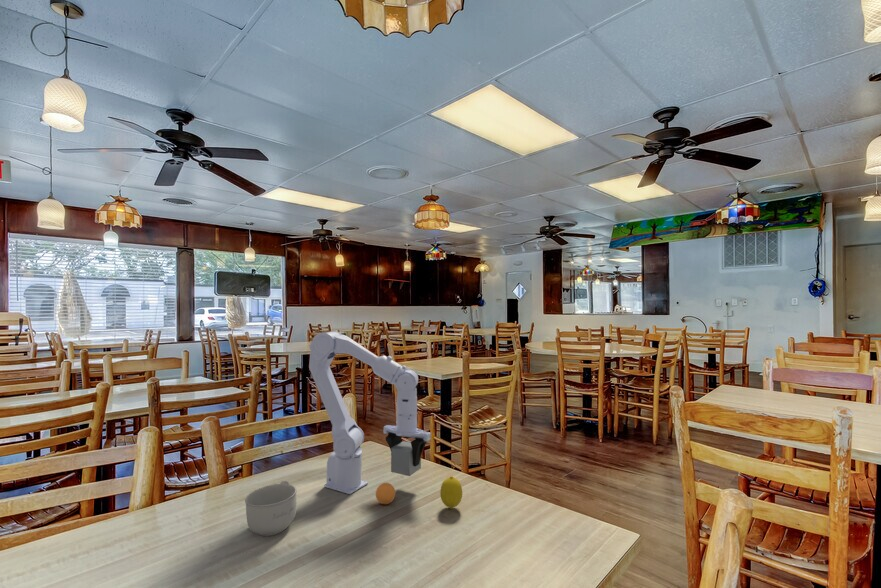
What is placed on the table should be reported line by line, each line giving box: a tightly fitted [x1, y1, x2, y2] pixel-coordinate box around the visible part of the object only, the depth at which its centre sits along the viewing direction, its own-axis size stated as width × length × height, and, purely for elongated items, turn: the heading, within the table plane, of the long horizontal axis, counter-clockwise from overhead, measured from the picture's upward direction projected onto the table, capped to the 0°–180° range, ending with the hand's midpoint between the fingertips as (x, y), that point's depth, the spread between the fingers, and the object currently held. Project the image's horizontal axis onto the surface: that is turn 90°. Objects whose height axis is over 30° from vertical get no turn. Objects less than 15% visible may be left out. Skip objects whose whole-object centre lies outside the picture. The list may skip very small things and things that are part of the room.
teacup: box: [244, 480, 298, 537], centre depth 94 cm, size 14×11×8 cm
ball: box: [375, 482, 396, 505], centre depth 104 cm, size 5×5×5 cm
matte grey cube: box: [390, 441, 422, 477], centre depth 113 cm, size 6×6×7 cm
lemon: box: [439, 475, 463, 510], centre depth 102 cm, size 6×6×8 cm
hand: (406, 462), depth 113 cm, fingers closed on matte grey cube, 6 cm apart
